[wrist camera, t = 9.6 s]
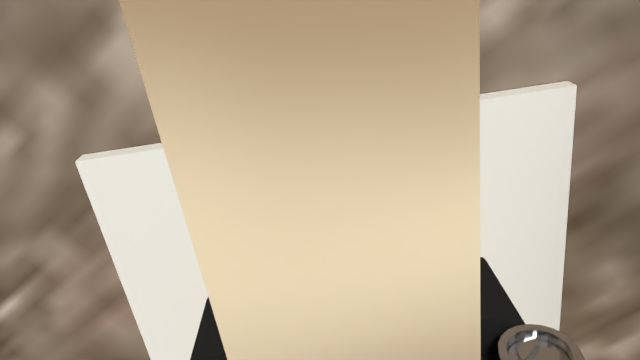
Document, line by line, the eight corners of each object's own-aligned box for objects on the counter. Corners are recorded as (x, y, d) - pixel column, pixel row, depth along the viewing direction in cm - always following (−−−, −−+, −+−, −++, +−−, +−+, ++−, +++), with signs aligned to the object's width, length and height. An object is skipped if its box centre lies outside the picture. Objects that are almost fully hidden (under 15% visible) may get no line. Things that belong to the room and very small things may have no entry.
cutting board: (82, 154, 16) (75, 161, 16) (567, 81, 16) (576, 85, 15) (211, 498, 24) (209, 511, 23) (543, 454, 23) (549, 466, 23)
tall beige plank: (91, -13, 9) (-101, 20, 5) (507, -79, 9) (708, -107, 5) (250, 480, 16) (230, 693, 11) (497, 448, 16) (578, 651, 11)
